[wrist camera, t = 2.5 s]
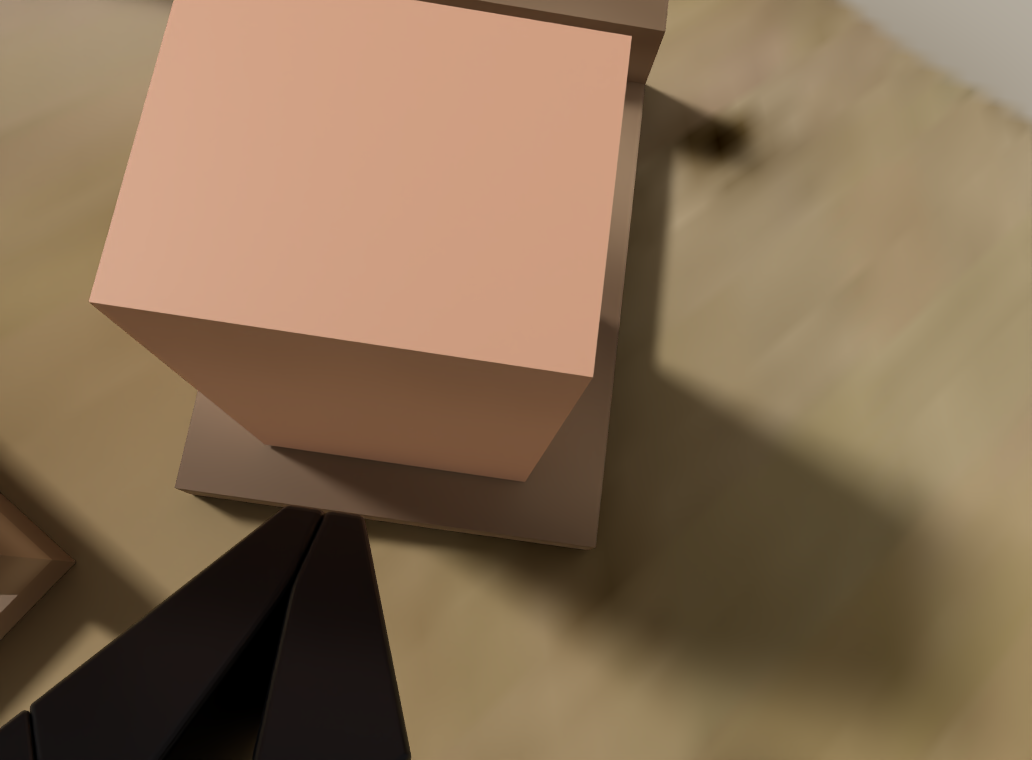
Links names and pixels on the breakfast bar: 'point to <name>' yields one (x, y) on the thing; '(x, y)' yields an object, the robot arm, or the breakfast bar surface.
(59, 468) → the breakfast bar surface
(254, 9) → the pink box
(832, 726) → the breakfast bar surface
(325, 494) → the plinth
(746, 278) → the breakfast bar surface
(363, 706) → the robot arm
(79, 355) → the breakfast bar surface
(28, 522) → the plinth
